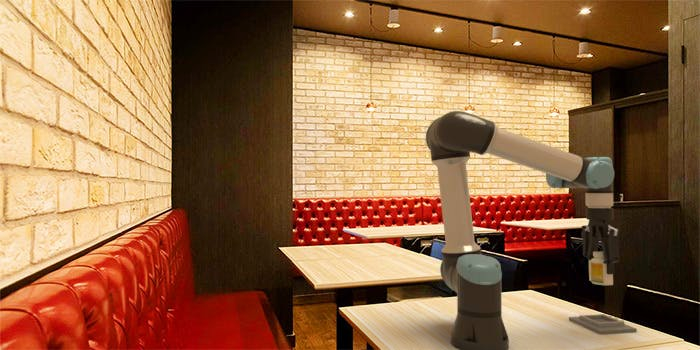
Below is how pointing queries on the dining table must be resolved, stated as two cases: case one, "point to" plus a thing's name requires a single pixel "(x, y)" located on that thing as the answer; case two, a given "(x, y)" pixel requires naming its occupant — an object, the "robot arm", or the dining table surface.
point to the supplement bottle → (597, 268)
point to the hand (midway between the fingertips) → (600, 282)
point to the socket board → (602, 324)
